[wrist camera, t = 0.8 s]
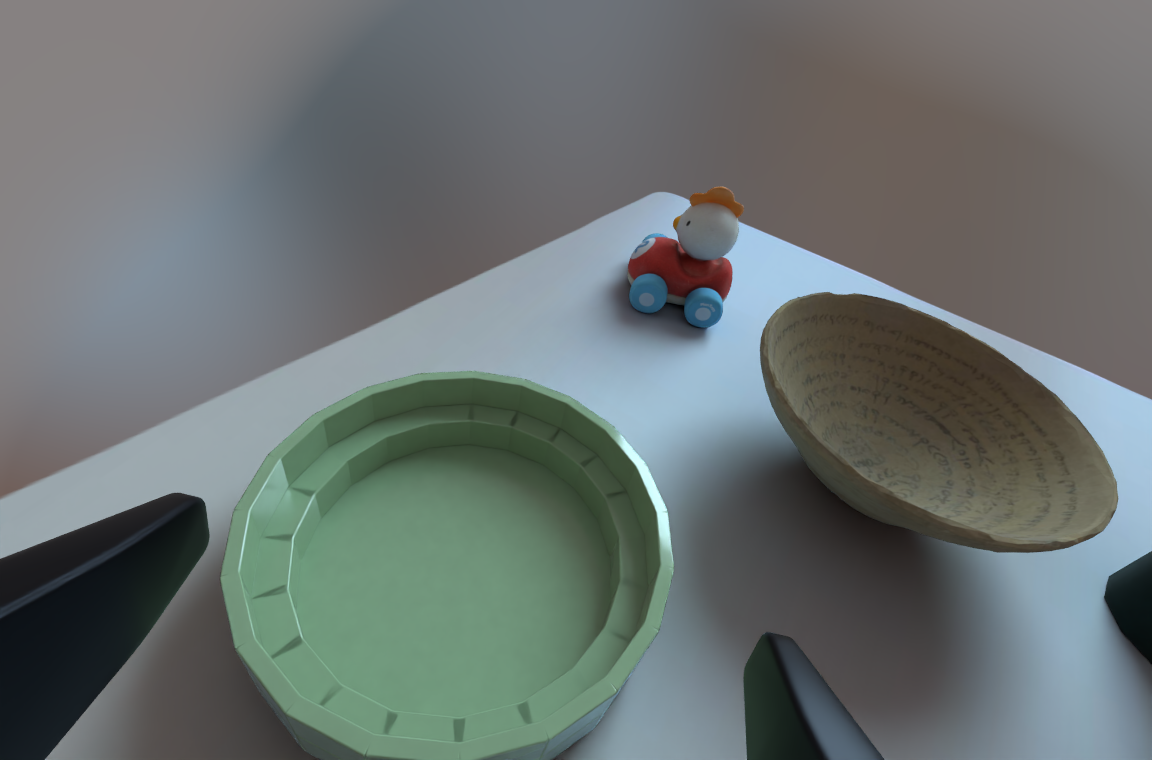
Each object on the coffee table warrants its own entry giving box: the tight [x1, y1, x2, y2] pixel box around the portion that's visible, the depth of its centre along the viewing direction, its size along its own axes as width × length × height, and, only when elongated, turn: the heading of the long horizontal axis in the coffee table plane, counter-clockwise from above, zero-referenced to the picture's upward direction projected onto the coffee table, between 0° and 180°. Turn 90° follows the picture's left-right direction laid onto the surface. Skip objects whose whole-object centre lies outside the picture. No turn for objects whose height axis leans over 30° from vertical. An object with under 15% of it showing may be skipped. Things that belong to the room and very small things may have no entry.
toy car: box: [627, 187, 744, 328], centre depth 44 cm, size 9×9×10 cm
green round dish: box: [220, 371, 674, 760], centre depth 23 cm, size 17×17×4 cm
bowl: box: [760, 292, 1118, 553], centre depth 31 cm, size 18×18×8 cm
